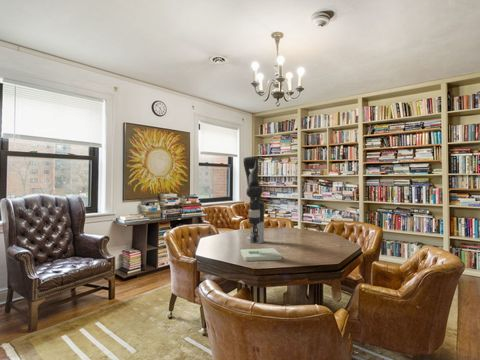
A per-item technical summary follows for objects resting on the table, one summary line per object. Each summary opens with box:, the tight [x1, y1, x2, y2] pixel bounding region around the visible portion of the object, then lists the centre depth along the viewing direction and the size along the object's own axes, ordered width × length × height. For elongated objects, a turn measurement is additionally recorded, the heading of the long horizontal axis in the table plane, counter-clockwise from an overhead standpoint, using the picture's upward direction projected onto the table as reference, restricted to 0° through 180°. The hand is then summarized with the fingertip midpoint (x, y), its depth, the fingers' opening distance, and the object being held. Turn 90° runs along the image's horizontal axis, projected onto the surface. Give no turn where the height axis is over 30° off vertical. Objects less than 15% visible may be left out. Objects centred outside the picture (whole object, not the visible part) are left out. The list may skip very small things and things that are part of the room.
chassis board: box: [240, 247, 283, 262], centre depth 189 cm, size 20×24×3 cm
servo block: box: [246, 234, 262, 245], centre depth 189 cm, size 4×9×6 cm, turn 98°
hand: (254, 241), depth 189 cm, fingers closed on servo block, 4 cm apart
